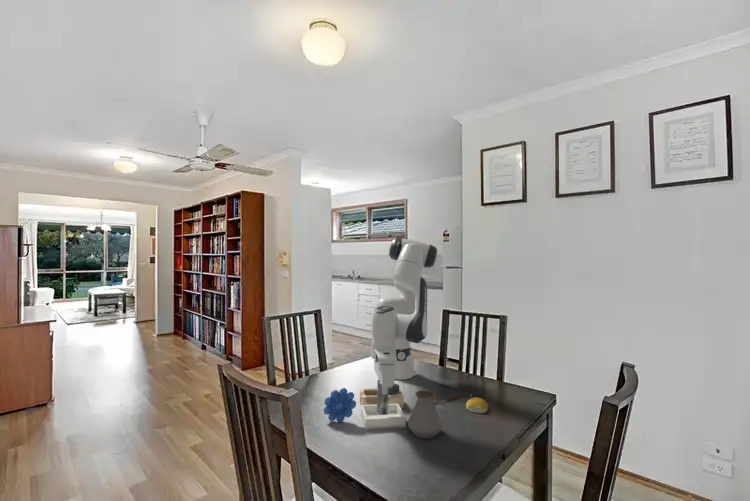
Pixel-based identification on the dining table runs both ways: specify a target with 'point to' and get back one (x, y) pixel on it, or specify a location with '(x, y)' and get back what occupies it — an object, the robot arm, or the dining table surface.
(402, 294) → the robot arm
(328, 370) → the dining table surface
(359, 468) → the dining table surface
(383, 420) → the tray
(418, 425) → the coffee pot
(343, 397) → the blue lobed round piece
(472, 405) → the bread roll
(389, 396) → the plate
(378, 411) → the pin
